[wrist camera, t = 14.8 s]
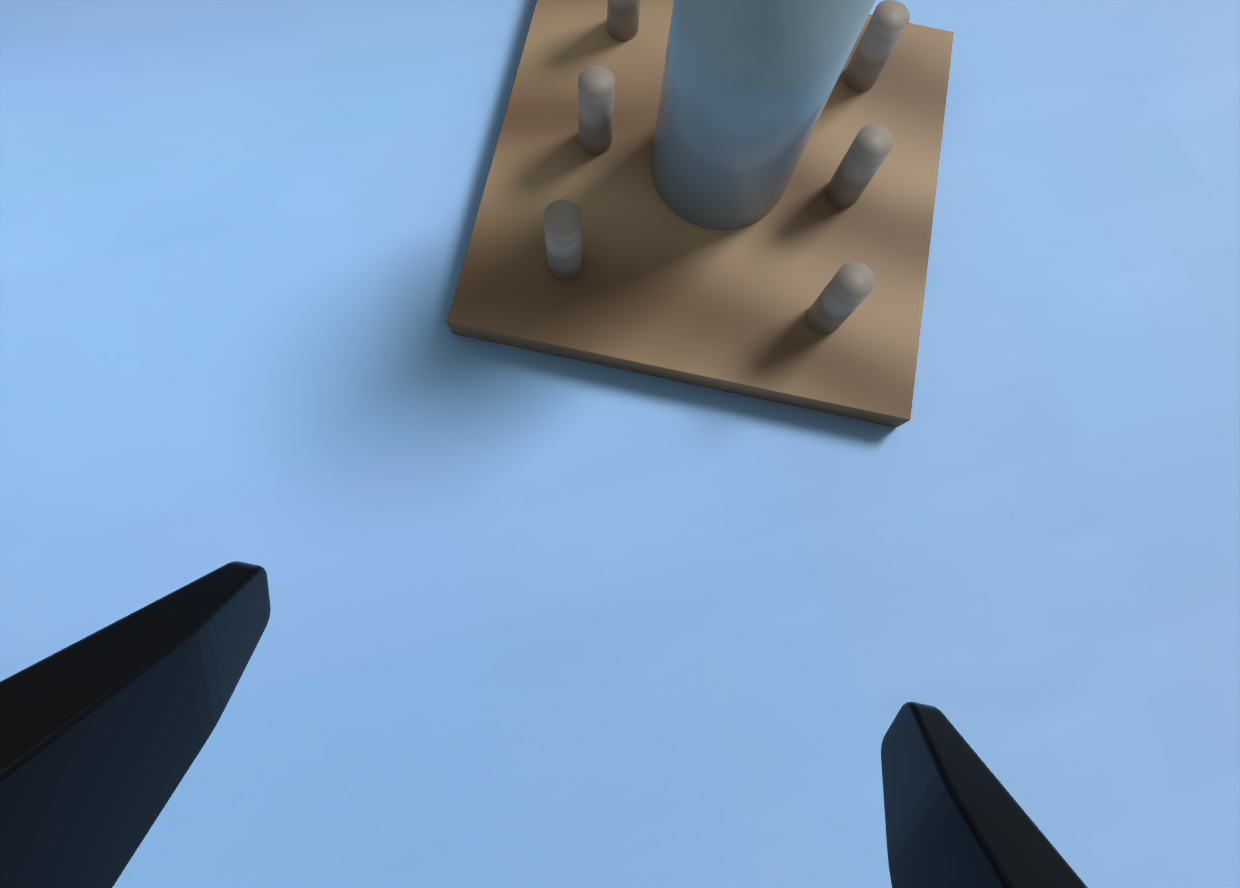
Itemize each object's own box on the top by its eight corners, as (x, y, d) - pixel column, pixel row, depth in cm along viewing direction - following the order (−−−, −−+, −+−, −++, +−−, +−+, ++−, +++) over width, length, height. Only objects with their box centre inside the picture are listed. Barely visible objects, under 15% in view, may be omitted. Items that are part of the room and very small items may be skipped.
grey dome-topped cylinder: (811, 150, 26) (943, -114, 17) (744, 254, 25) (842, 37, 16) (695, 84, 27) (757, -212, 17) (624, 184, 26) (647, -71, 16)
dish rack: (897, 426, 25) (955, 393, 21) (452, 333, 25) (429, 282, 21) (940, 51, 29) (996, -35, 25) (553, -31, 29) (548, -131, 25)
